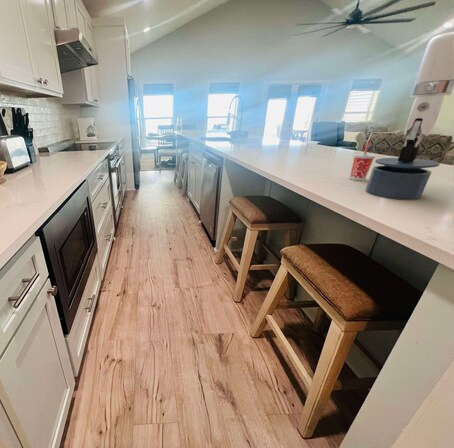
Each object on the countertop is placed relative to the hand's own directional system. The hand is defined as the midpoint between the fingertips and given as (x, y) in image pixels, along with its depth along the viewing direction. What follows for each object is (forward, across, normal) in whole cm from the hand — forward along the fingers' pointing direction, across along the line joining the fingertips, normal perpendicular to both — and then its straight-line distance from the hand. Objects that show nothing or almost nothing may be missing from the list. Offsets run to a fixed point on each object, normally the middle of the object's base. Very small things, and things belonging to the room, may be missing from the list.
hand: (406, 160), depth 71 cm
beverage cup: (+10, +14, +12) cm, 21 cm away
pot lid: (+1, 0, 0) cm, 1 cm away
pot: (+10, 0, 0) cm, 10 cm away
